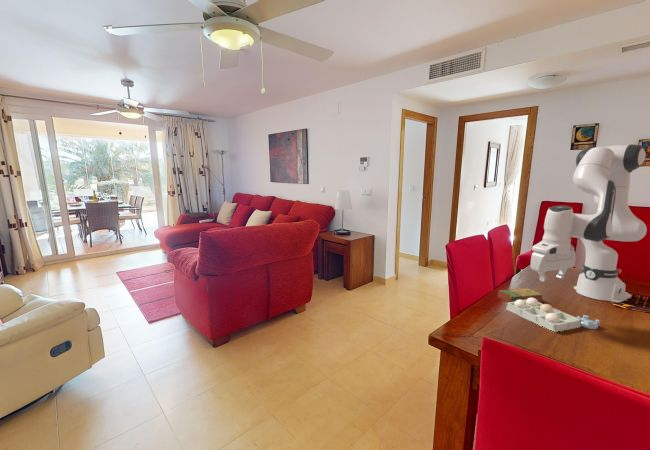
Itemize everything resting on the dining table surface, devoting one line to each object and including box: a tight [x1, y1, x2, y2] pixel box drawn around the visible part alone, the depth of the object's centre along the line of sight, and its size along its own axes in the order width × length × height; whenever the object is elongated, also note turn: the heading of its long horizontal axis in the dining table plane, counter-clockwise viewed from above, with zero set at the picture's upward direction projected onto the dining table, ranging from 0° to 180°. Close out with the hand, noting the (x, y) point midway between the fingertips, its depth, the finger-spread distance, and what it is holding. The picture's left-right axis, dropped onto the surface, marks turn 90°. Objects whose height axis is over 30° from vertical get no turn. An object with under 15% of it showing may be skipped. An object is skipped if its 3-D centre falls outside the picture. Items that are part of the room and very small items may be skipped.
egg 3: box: [540, 303, 554, 313], centre depth 119 cm, size 5×5×5 cm
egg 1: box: [514, 299, 527, 309], centre depth 124 cm, size 5×5×5 cm
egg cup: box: [576, 314, 600, 330], centre depth 113 cm, size 6×6×3 cm
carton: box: [497, 287, 543, 304], centre depth 136 cm, size 8×16×4 cm, turn 98°
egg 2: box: [526, 298, 540, 307], centre depth 126 cm, size 5×5×5 cm
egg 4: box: [545, 313, 560, 324], centre depth 111 cm, size 5×5×5 cm
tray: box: [505, 300, 582, 333], centre depth 119 cm, size 14×20×3 cm
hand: (551, 279), depth 118 cm, fingers open, 8 cm apart
